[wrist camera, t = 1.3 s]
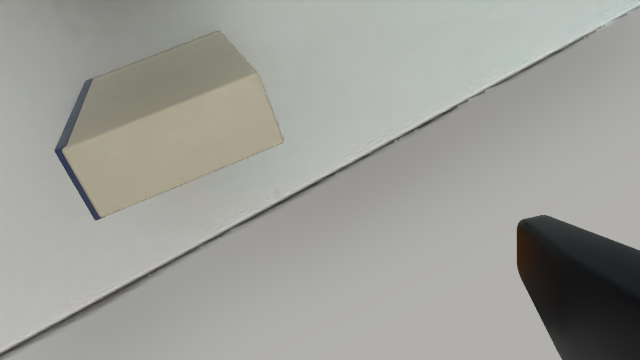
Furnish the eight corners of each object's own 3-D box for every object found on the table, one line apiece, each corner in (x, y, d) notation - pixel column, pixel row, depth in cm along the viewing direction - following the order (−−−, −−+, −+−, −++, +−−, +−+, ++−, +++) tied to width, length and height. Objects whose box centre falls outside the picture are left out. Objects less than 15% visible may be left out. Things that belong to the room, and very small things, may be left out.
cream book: (111, 130, 21) (94, 223, 14) (85, 80, 20) (52, 151, 13) (239, 80, 22) (285, 144, 15) (219, 29, 21) (258, 70, 14)
